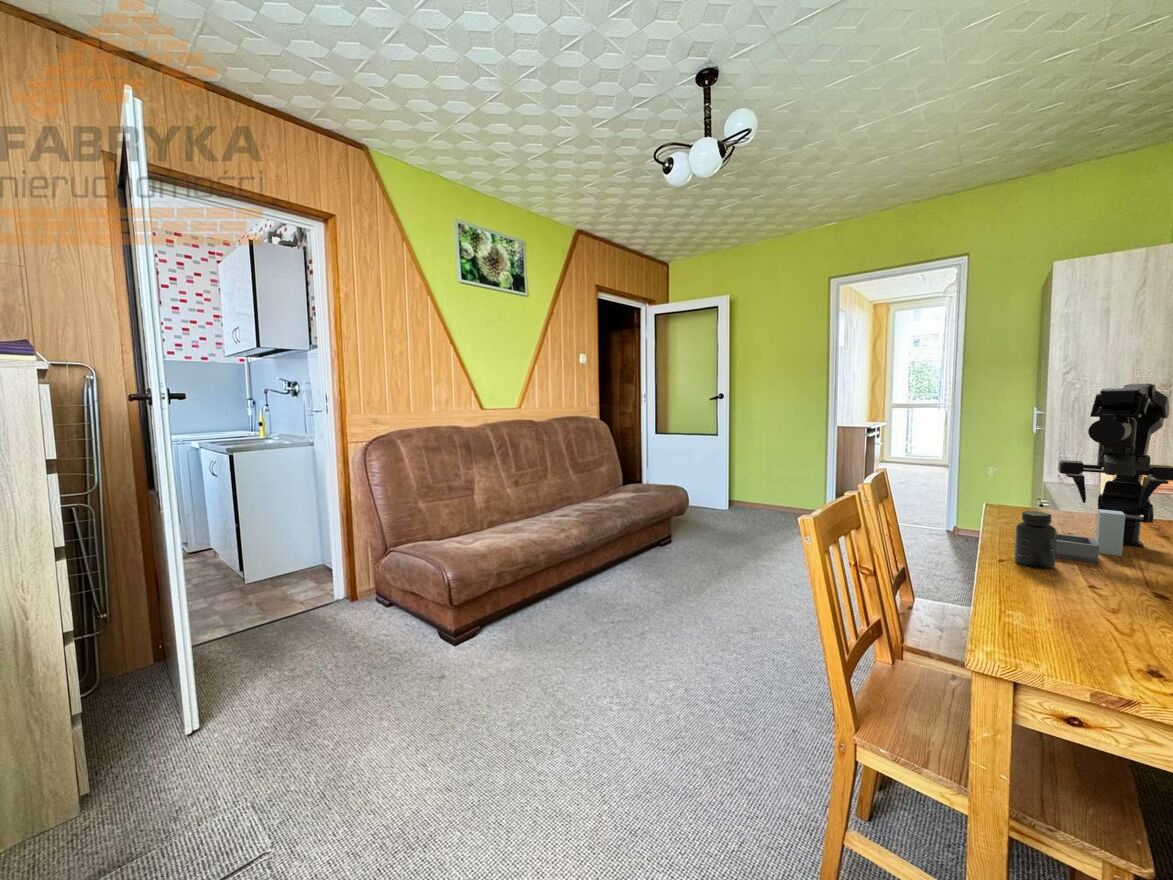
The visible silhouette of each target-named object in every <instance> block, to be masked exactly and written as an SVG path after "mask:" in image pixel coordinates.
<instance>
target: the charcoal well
mask: <svg viewBox="0 0 1173 880" xmlns="http://www.w3.org/2000/svg"><path fill="white" fill-rule="evenodd" d="M1099 554H1100V553H1099V545H1098V544H1097V542H1096V541H1095V538H1094V537H1089V536H1082V535H1081V536H1079V535H1073V534H1066V533H1065V534H1064V533H1057V541H1056V558H1058V559H1065V560H1072V561H1079V562H1088V563H1091V564H1092V563H1093V564H1099Z"/></svg>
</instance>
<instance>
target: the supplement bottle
mask: <svg viewBox="0 0 1173 880" xmlns="http://www.w3.org/2000/svg"><path fill="white" fill-rule="evenodd" d="M1021 516H1022V517H1021V520H1022V522H1019V523H1018V524H1017V525H1016V526H1015V537H1014V538H1015V543H1014V544H1015V545H1014V561H1015V562H1016V563H1017V564H1018V565H1022V566H1025V567H1029V568H1034V569H1039V570H1040V569H1042V570H1047V569H1048V570H1049V569H1053V568H1055V566H1056V558H1057V557H1056V541H1057V532H1058V531H1057V529H1056V528H1055V527H1054V526H1053V525H1051V524H1052V523H1053V521H1052V514H1051V513H1049V512H1044V511H1043V512H1042V511H1035V510H1025V511H1024V510H1023V511H1022V515H1021Z"/></svg>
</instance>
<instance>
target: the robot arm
mask: <svg viewBox="0 0 1173 880" xmlns="http://www.w3.org/2000/svg"><path fill="white" fill-rule="evenodd" d="M1169 414H1170V402H1169V398H1168V396H1166V395H1165V394H1163V393H1162V392H1160V391H1159V390H1157V388H1156V384H1155V383H1154V384H1152V383H1129V384H1125V385H1124V386H1123V387H1122V388H1121V387H1120V388H1118V387H1117V388H1114V387H1113V388H1111V387H1110V388H1102V389H1101V390H1100V391H1099V392H1098V393H1096V395H1095V398H1094V402H1093V405H1092V409H1091V412H1090V418H1099V419H1098V420H1095V422H1092V424H1091V425H1090V426H1089V428H1088V430H1087V431H1088V433H1087V434H1088V436H1089V438H1091V440H1092V441H1094V442H1096V443H1098V449H1097V450H1098V451H1097V464H1086V463H1085V464H1084V462H1083V461H1081V460H1065V459H1061V460H1060V461H1059V462H1058V468H1057V469H1058V472H1059V474H1064V476H1066V477H1067V478H1072V480H1073V482H1074V483H1075V486H1076V488H1077V491H1078V493H1079V496H1080V499H1081V501H1082V503H1083V504H1085V503H1086V501H1087V500H1086V499H1087V495H1086V494H1087V493H1086V485H1085V475H1084V474H1083V473H1085V472H1086V473H1101V474H1105V475H1108V476H1115V478H1114V479H1112V480H1107V481H1106V482H1105V484H1104V487H1103V490H1102V493H1099V495H1098V497H1097V510H1098V509H1100V510H1111V511H1121V512H1123V513H1124V514H1125V525H1124V537H1123V545H1129V546H1134V547H1145V544H1144V543H1143V542H1142V541H1141V540H1140V536H1141V525H1142V524H1141V523H1144V524H1147V523H1148V524H1149V523H1154V518H1155V517H1154V516H1155V515H1154V505H1153V504H1152V503H1151V499H1150V497H1151V495H1152V494H1153V493H1154V492H1155V490H1157V488H1158V487H1160V486H1161V485H1164V484H1165V485H1168V484H1169V482H1170V481H1173V466H1172V465H1166V464H1165V465H1164V464H1151V456H1150V455H1149V454H1148V451H1149V445H1150V441H1151V437H1152V435H1153V434H1154V433H1156V432H1158V430H1160V429H1162V428H1163V426H1164V421H1165V419H1168V418H1169V416H1170V415H1169ZM1142 479H1143V480H1142ZM1141 483H1142V484H1141Z"/></svg>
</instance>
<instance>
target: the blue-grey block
mask: <svg viewBox="0 0 1173 880" xmlns="http://www.w3.org/2000/svg"><path fill="white" fill-rule="evenodd" d="M1096 515H1097V516H1096V525H1095V526H1096V528H1095V538H1094V539H1095V541H1096V542H1097V544H1098V545H1099V554H1104V555H1111V556H1119V557H1122V556H1123V546H1124V544H1123V537H1124V525H1125V514H1124V513H1123V512H1121V511H1111V510H1100V509H1098V508H1097V514H1096Z"/></svg>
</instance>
